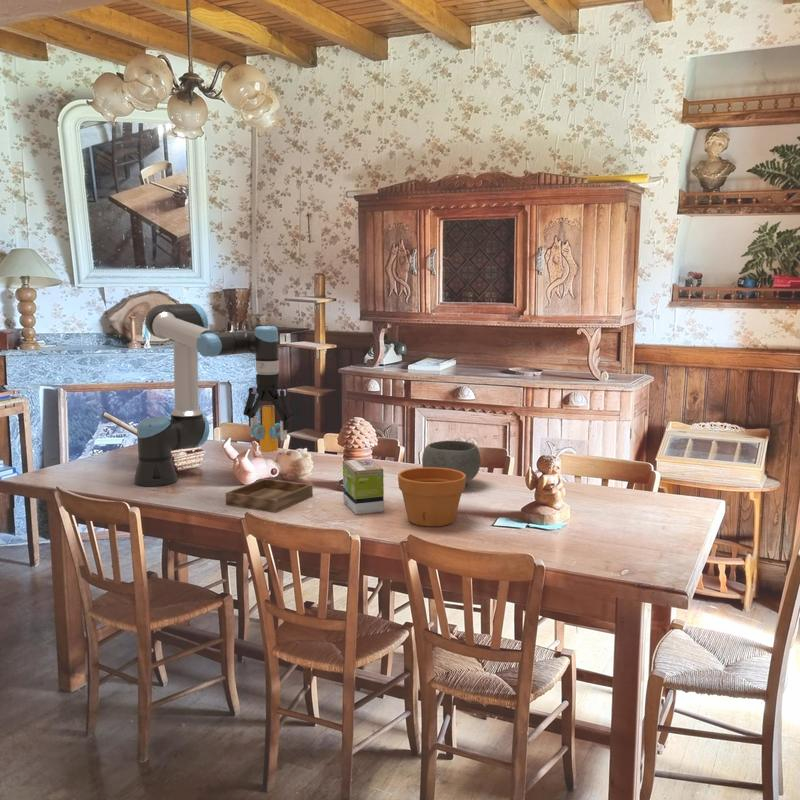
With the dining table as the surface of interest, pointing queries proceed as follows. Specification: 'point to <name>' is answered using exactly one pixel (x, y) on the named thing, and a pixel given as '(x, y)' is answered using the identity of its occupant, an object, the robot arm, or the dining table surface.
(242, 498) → the tray
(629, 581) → the dining table surface
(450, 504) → the flower pot
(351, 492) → the tea box
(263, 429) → the orange toy with wheels
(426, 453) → the bowl
